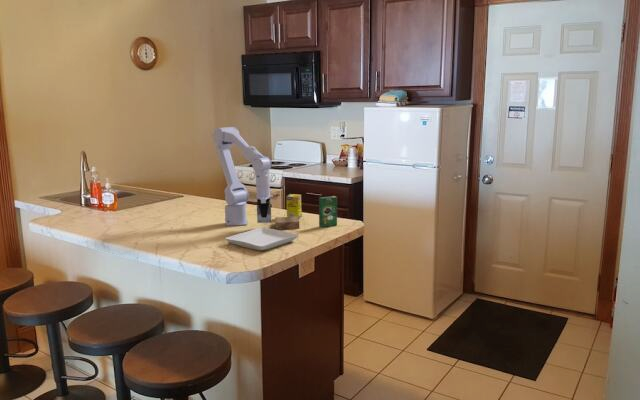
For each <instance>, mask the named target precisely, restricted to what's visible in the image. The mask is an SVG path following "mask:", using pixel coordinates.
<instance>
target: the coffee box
mask: <svg viewBox="0 0 640 400" xmlns="http://www.w3.org/2000/svg"><path fill="white" fill-rule="evenodd" d="M318 225H319V228H327V227H335V226H338V196H335V195H332V196H321V197H318Z"/></svg>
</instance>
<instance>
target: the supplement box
mask: <svg viewBox="0 0 640 400" xmlns="http://www.w3.org/2000/svg"><path fill="white" fill-rule="evenodd" d="M285 199H286V217H297V216H298V219H299V220H300V218H302V217H303V216H302V214H303V213H302V194H298V193H297V194H295V193H293V194H292V193H289V194H288V195H286V197H285Z"/></svg>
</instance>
